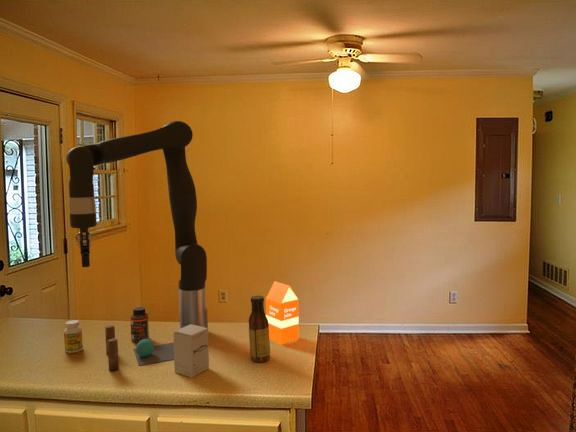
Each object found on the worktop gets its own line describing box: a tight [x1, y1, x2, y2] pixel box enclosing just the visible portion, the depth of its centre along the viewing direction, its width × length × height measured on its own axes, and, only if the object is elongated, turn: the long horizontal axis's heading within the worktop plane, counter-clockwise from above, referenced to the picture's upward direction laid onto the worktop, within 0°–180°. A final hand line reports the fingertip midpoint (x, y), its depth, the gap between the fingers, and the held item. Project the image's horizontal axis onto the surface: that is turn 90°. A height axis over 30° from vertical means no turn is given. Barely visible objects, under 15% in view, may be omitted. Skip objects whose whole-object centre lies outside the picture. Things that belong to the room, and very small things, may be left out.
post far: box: [104, 324, 116, 356], centre depth 148 cm, size 3×3×9 cm
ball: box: [135, 339, 155, 357], centre depth 146 cm, size 6×6×6 cm
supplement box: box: [172, 324, 210, 378], centre depth 135 cm, size 7×7×13 cm
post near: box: [107, 338, 120, 373], centre depth 136 cm, size 3×3×9 cm
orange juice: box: [265, 280, 300, 346], centre depth 159 cm, size 8×9×20 cm
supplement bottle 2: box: [130, 306, 150, 343], centre depth 160 cm, size 6×6×11 cm
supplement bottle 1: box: [63, 319, 84, 354], centre depth 151 cm, size 5×5×10 cm
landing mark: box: [133, 341, 174, 367], centre depth 148 cm, size 14×14×1 cm
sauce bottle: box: [248, 295, 271, 363], centre depth 142 cm, size 6×6×20 cm
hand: (85, 266), depth 144 cm, fingers closed
